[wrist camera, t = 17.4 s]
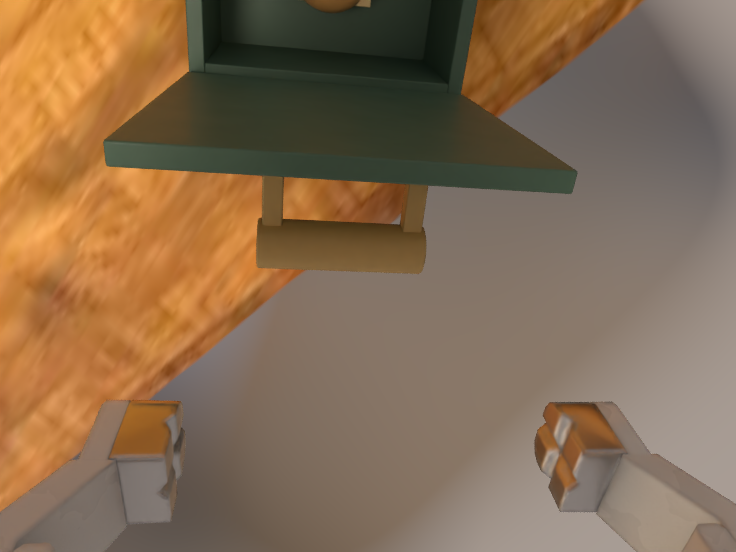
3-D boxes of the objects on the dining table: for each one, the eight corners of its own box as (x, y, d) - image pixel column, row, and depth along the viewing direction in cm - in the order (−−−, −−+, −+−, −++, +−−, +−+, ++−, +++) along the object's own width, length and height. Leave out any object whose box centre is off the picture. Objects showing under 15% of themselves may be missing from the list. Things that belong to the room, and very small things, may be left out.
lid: (102, 140, 16) (119, 287, 18) (578, 171, 18) (544, 300, 20) (187, 71, 29) (191, 163, 31) (463, 94, 31) (449, 179, 33)
